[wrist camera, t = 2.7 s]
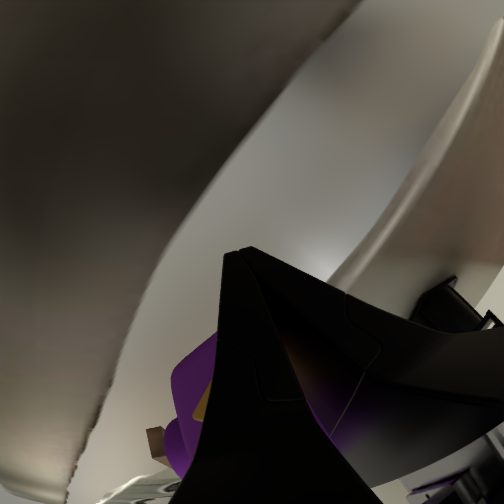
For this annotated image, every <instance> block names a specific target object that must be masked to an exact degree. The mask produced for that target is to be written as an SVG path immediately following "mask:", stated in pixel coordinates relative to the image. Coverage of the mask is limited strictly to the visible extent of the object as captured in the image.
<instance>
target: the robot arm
mask: <svg viewBox="0 0 504 504" xmlns="http://www.w3.org/2000/svg"><path fill="white" fill-rule="evenodd" d="M457 280H458V278H457V277H456V276H454V277H452V278H451V279H449V280H448V281H446V282H444V283H443V284H441V285H440V286H438V287H436V288H435V289H433V290H431V291H430V292H428V293H426V294H425V295H423V296H422V298H421V299H420V301H419V303H418V306H417V308H416V310H415V313H414V315H413V317H412V319H411V321H409V320H407V319H404V318H401V317H399V316H396V315H394V314H391V313H389V312H386V311H384V310H381V309H379V308H377V307H374V306H372V305H370V304H368V303H366V302H364V301H362V300H359V299H357V298H355V297H353V296H351V295H349V294H346V293H345V292H343V291H341V290H339V289H337V288H335V287H333V286H331V285H329V284H327V283H325V282H323V281H321V280H319V279H317V278H315V277H313V276H311V275H309V274H307V273H305V272H303V271H301V270H299V269H297V268H295V267H293V266H291V265H289V264H287V263H285V262H283V261H281V260H279V259H277V258H275V257H273V256H271V255H269V254H267V253H265V252H263V251H261V250H258V249H257V248H255V247H252V246H250V247H247V248H242V249H240V250H239V251H232V252H229V253H225V254H224V257H223V268H222V279H221V290H220V303H219V316H218V327H217V342H216V352H215V362H214V371H213V376H212V382H211V387H210V392H209V397H208V401H207V405H206V410H205V414H204V419H203V423H202V428H201V432H200V436H199V440H198V444H197V448H196V451H195V454H194V457H193V459H192V462H191V464H190V466H189V468H188V470H187V472H186V473H185V475H184V477H183V479H182V480H181V482H180V484H179V486H178V487H177V489H176V491H175V493H174V494H173V496H172V498H171V499H170V501H169V503H168V504H383V503H382V502H381V500H380V499H379V498H378V497H377V496H376V495H375V494H374V492H373V491H372V490H371V489H370V488H373V487H376V486H379V485H382V484H384V483H387V482H390V481H393V480H395V479H398V478H399V479H400V481H401V482H402V484H403V486H404V487H405V489H406V490H407V492H408V493H409V495H407V496H406V498H407V500H408V502H409V503H410V504H504V324H503V323H502V322H501V321H500V320H499V319H498V318H497V317H496V316H495V315H494V314H493V313H492V312H491V311H490V310H488V311H487V312H486V315H485V316H484V318H483V317H482V316H481V315H480V314H479V313H478V312H477V311H476V310H475V309H474V308H473V307H472V306H471V305H470V304H469V303H468V302H467V301H466V300H465V299H464V298H463V297H462V296H461V295H460V294H459V293H458V292H457V291H455V290H454V287H455V285H456V283H457ZM492 322H494V324H495V325H494V326H493V327H492V328H491V329H487V328H488V327H489V325H490V324H491V323H492ZM305 397H306V398H305ZM306 399H307V400H308V402H309V404H310V405H311V407H312V409H313V410H314V412H315V413H316V415H317V417H318V418H319V420H320V421H321V423H322V425H323V426H324V428H325V429H326V431H327V433H328V434H329V436H331V439H332V441H333V442H334V444H335V445H336V446H335V445H334V444H333V442H332V441H331V440H330V439H329V437H328V436H327V435H326V433H325V432H324V431H323V430H322V428H321V427H320V426H319V424H318V423H317V421H316V419H315V417H314V416H313V414H312V412H311V410H310V407H309V405H308V403H307V402H306ZM337 448H338V449H337Z"/></svg>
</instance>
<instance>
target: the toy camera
mask: <svg viewBox="0 0 504 504" xmlns="http://www.w3.org/2000/svg"><path fill="white" fill-rule="evenodd" d="M216 342H217V332H216V333H215V334H213V335H212V336H211V337H210V338H208V339H207V340H206V341H205V342H203V343H202V344H201V345H200V346H198V347H197V348H196V349H195V350H194V351H193V352H191V353H190V354H189V355H188V356H186V357H185V358H184V359H183V360H182V361H181V362H180V363H179V364H178V365H177V366H176V367H175V368H174V370H173V372H172V375H171V389H172V394H173V400H174V404H175V409H176V413H177V418H176V419H174V420H172V421H171V422H170V423H169V424H168V426H167V428H166V430H165V432H164V438H163V446H164V451H165V455H166V457H167V460H168V462H169V464H170V465H171V467H172V468H173V470H174V471H175V472H176V474H177V475H178V476H179V477H180V478H181V479H183V477H184V475H185V473H186V472H187V470H188V468H189V466H190V464H191V462H192V459H193V457H194V454H195V451H196V448H197V444H198V440H199V436H200V432H201V428H202V423H203V419H204V414H205V410H206V405H207V401H208V397H209V392H210V387H211V382H212V376H213V371H214V362H215V352H216ZM305 398H306V397H305ZM306 402H307V403H308V405H309V407H310V410H311V412H312V414H313V416H314V417H315V419H316V421H317V423H318V424H319V426H320V427H321V428H322V430H323V431H324V432H325V433H326V435H327V436H328V437H329V439H330V440H331V441H332V439H331V436H329V434H328V433H327V431H326V429H325V428H324V426H323V425H322V423H321V421H320V420H319V418H318V417H317V415H316V413H315V412H314V410H313V409H312V407H311V405H310V404H309V402H308V400H307V399H306ZM332 442H333V441H332ZM333 444H334V442H333ZM334 445H335V444H334ZM335 446H336V445H335ZM337 449H338V448H337Z"/></svg>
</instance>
